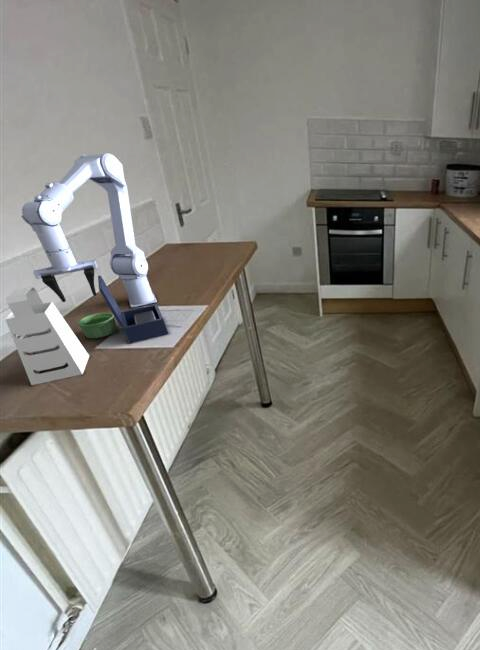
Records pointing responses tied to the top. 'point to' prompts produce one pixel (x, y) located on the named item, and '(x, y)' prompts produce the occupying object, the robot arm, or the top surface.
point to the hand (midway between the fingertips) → (79, 297)
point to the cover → (110, 300)
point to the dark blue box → (143, 324)
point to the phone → (144, 317)
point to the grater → (43, 338)
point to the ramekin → (98, 325)
